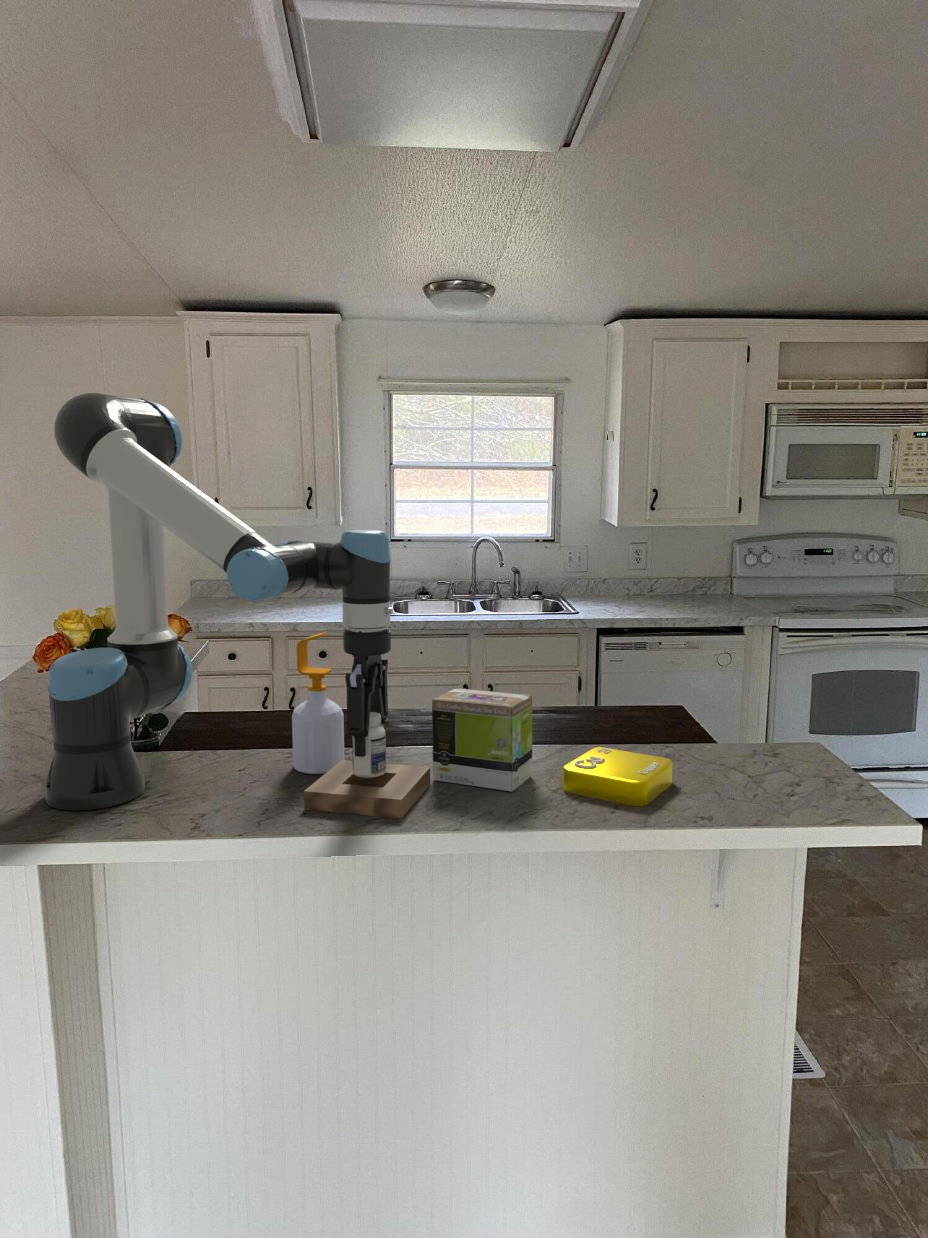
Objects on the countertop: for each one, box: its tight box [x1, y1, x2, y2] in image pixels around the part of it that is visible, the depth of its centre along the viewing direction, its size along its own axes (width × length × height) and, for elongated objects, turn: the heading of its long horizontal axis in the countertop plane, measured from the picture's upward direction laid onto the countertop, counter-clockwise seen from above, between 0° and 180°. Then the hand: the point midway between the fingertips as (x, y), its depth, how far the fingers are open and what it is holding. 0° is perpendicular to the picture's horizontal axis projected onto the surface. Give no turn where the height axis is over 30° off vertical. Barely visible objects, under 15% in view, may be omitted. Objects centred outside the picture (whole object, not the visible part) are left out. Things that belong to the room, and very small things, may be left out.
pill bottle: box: [351, 712, 387, 778], centre depth 143 cm, size 5×5×10 cm
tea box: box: [431, 687, 533, 793], centre depth 152 cm, size 15×10×15 cm, turn 65°
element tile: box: [562, 746, 674, 807], centre depth 149 cm, size 15×15×5 cm
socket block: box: [303, 759, 431, 819], centre depth 144 cm, size 16×16×3 cm
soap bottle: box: [291, 631, 345, 775], centre depth 157 cm, size 9×9×25 cm
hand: (369, 768), depth 143 cm, fingers closed on pill bottle, 5 cm apart
